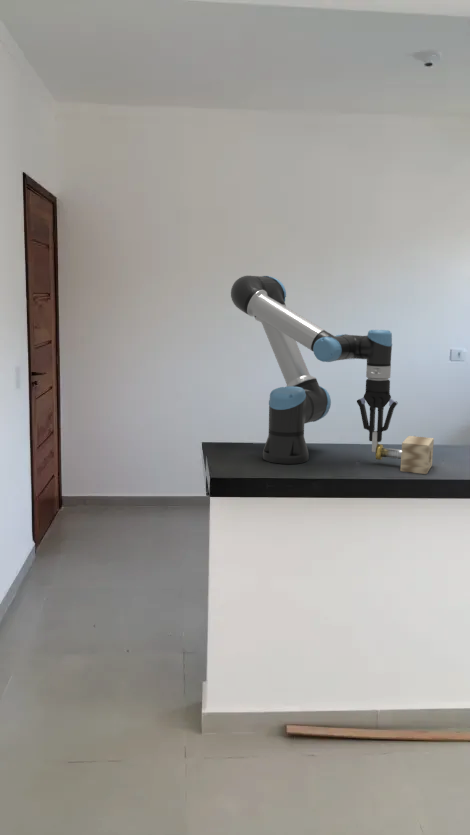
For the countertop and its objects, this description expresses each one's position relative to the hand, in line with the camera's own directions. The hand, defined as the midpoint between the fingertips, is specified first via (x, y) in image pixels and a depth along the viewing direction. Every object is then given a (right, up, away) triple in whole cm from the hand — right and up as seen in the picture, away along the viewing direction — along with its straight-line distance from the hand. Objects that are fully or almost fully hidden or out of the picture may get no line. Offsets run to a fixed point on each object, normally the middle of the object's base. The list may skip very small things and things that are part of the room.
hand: (374, 451), depth 225 cm
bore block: (+12, -5, -4) cm, 14 cm away
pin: (+7, -3, -2) cm, 8 cm away
